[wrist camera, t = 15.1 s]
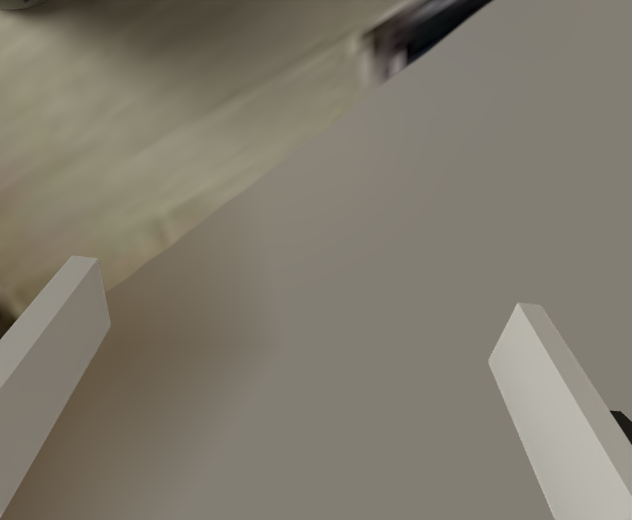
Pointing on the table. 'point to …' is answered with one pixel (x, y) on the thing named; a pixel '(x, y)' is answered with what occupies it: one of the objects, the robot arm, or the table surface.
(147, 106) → the table surface
